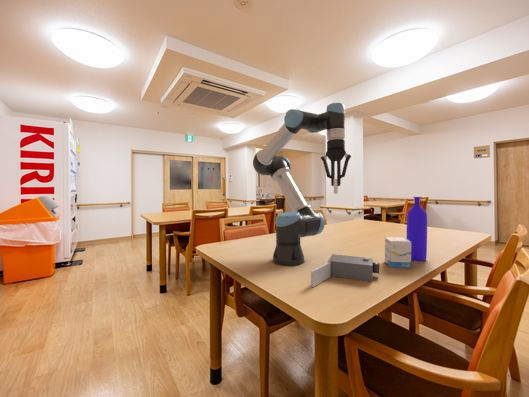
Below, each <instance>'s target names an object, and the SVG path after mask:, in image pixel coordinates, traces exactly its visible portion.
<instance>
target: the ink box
mask: <svg viewBox="0 0 529 397" xmlns="http://www.w3.org/2000/svg"><path fill="white" fill-rule="evenodd" d="M384 262H385V264H386V265H388V266H389V267H390V268H399V269H400V268H401V269H411V268H412V260H411V242H410V241H409V240H407V238H405V237H398V236H397V237H395V236H391V237H390V236H389V237H384Z"/></svg>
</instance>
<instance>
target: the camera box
mask: <svg viewBox="0 0 529 397" xmlns="http://www.w3.org/2000/svg"><path fill="white" fill-rule="evenodd" d="M373 260H374V259H373V257H367V256H354V255H342V254H335V253H334V254H333V253H332V254H331V255H330V257H329V259H328V261H327V262H331V277H336V278H344V279H350V280H352V279H353V280H356V281H357V280H359V281H366V282H373V274H378V275H380V262H374V261H373Z"/></svg>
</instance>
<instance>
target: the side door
mask: <svg viewBox="0 0 529 397" xmlns="http://www.w3.org/2000/svg"><path fill="white" fill-rule="evenodd" d="M329 278H332V276H331V262H328V261H327V262H326V263H322V265H320V266H317V267H316V268H314V269H312V270H311V271H310V287H312V288H314V287H316V286H318V285H319V284H321V283H322V282H324V281H326V280H327V279H329Z"/></svg>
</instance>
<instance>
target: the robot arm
mask: <svg viewBox="0 0 529 397" xmlns="http://www.w3.org/2000/svg"><path fill="white" fill-rule="evenodd" d="M345 120H346V111H345V104H344V103H341V102H332V103H329V104H328V105H326V111H325V112H322V113H318V114H317V113H314V112H313V113H312V112H308V111H303V110H300V109H293V108H291V109H289V110H286V113H285V115H284V118H283V121H284V123H283V124H282V126H280V128H279V129H278V130H277V131H276V133H275V134H274V135H273V136H272V137H271V138H270V140H268V142H267V143H266V144H265V146H264V147H263V148H262V149H260V150H258V151H257V152H256V153H255V154H254V156H253V159H252V166H253V169H254V170H255V172H256V173H258V174H259V175H261V176H270V177H271V179H272V180H273V182H276V183H277V185H278V186H279V188H280V190H281V192H282V194H283V196H284V198H285V200H286V202H287V203H288V205H289V207H290V209H291V211H284V212H281V213H278V214H277V215H276V217H275V241H276V242H275V244H276V245H275V248H274V251H273V254H272V262H273V263H274V264H277V265H280V266H287V267H288V266H289V267H293V266H298V265H301V264H304V262H305V255H304V252H303V248H302V245H301V238H304V237H305V238H306V237H307V238H308V237H314V236H316V235H319V234H321V233H322V232H323V231H324V229H325V225H326V224H325V218H324V216H323V214H322V213H321V212H318V211H315V209H314V207H313V206H312V205H309V204H308V203H307V201H306V199H305V198H304V196H303V194H302V193H301V192H300V189H299V187H298V186H297V184H296V182H295V181H294V180H293V178H292V175H291V169H292V167H291V165H292V164H291V161H290V160H289V159H288V157H285V156H282V155H278V154H279V153H280V152H281V151H282V150H283V148H285V146H286V145H287V144H288V143H290V141H292V139H293V138H295V136H296V135H297V134H298V133H299V132H300V130H306V131H307V132H309V133H310V134H314V133H315V134H317V133H319V132H323V131H326V140H327V141H326V152H325V154H324V155H323V156H321V157H320V159H321V160H322V162H323V167H324V170H325V173H326V177H327V178H328V179H331V181H330V185H331V187H333V194H334V195H335V194H339V187H341V183H342V182H341V181H342V180H341V179H342V178H345V177H346V173H347V170H348V169H347V168H348V166H349V161H350V160H351V158H352V155H351V154H348V153H347V151H346V148H345V147H346V146H345V144H346V141H345V137H346V135H345V134H346V133H345V132H346V131H345V130H346V129H345ZM343 158H345V159H344V164H343V168H342V169H341V167H342V166H341V164H342V163H341V162H342V160H343ZM328 159H329V162H330V169H329V164H328V161H327V160H328ZM335 164H336V165H335ZM335 167H336V174H335ZM341 170H342V171H341ZM335 176H336V177H335Z"/></svg>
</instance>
